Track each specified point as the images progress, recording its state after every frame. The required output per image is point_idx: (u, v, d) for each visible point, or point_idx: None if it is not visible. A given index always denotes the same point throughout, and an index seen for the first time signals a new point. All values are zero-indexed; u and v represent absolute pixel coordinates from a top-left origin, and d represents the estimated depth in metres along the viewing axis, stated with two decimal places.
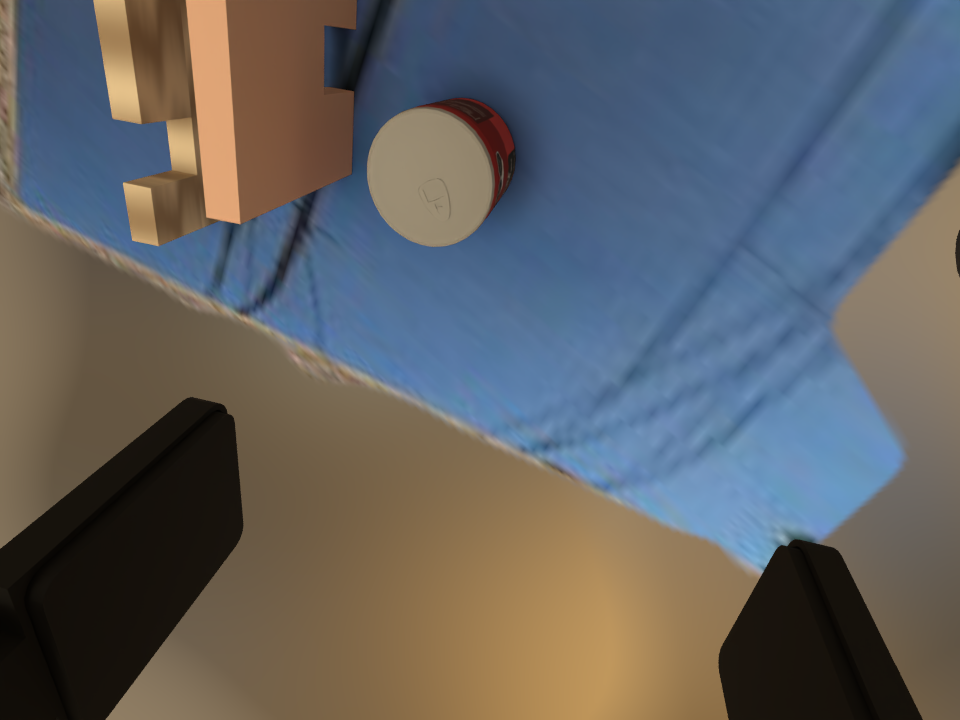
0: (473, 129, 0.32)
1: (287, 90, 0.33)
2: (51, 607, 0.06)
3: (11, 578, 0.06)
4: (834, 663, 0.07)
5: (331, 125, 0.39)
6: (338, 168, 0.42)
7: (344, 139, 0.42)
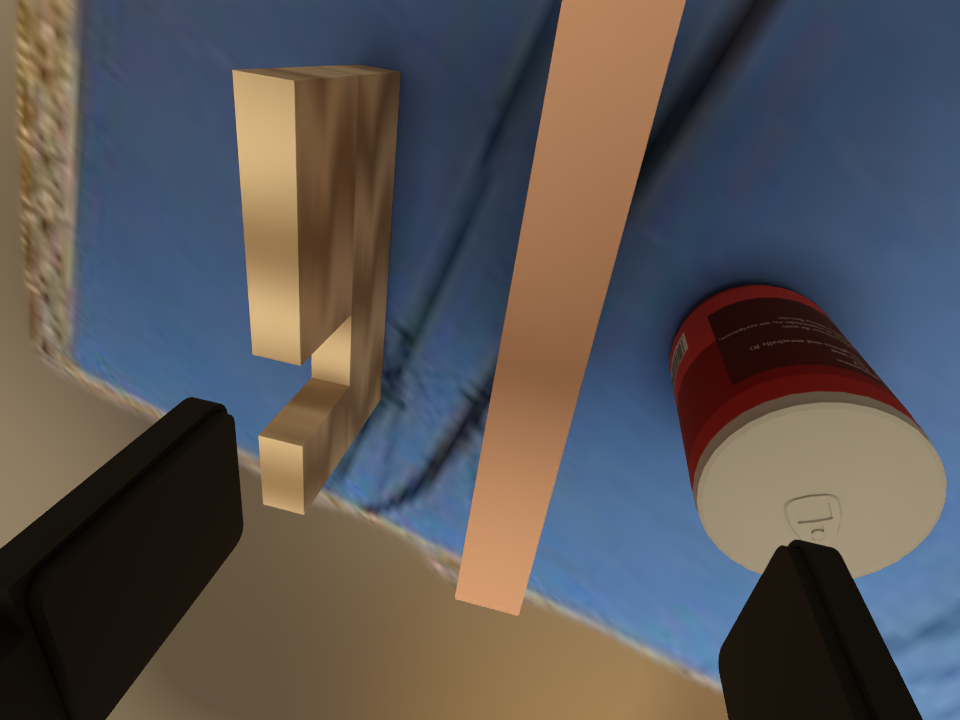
0: (922, 431, 0.18)
1: None
2: (51, 607, 0.06)
3: (11, 578, 0.06)
4: (834, 663, 0.07)
5: None
6: None
7: None
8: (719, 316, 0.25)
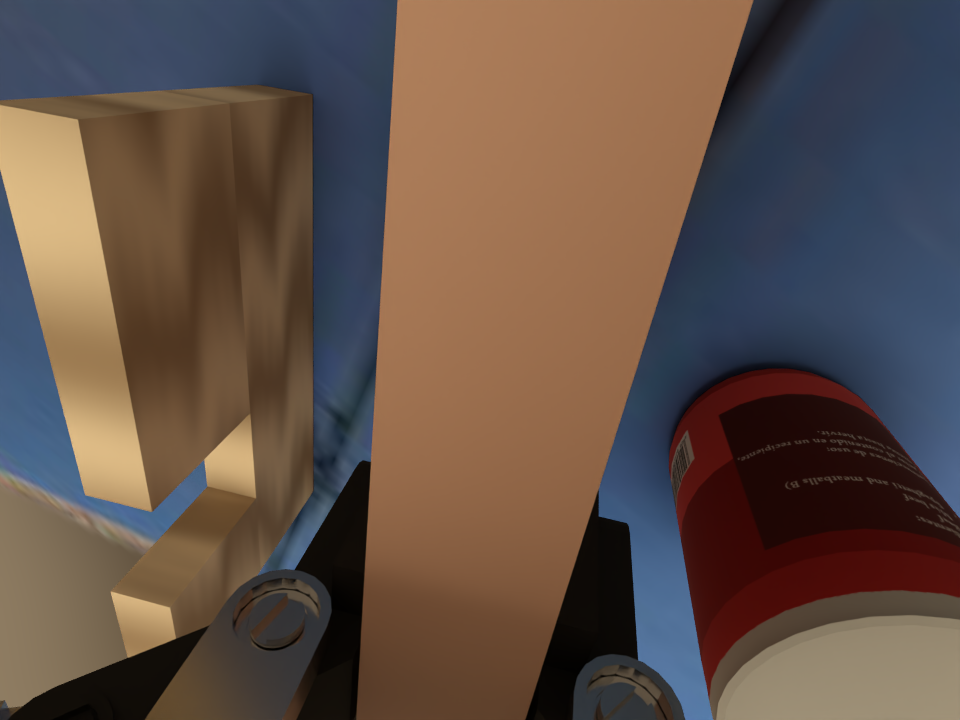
0: None
1: None
2: None
3: None
4: None
5: None
6: None
7: None
8: (736, 419, 0.19)
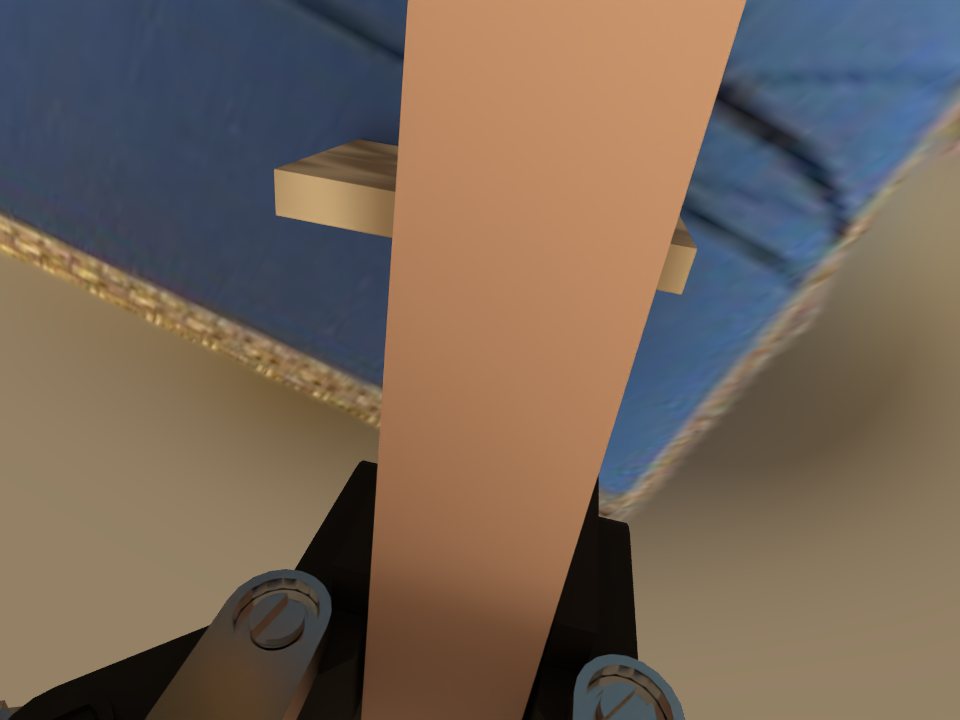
0: None
1: None
2: None
3: (369, 565, 0.07)
4: None
5: None
6: None
7: None
8: None
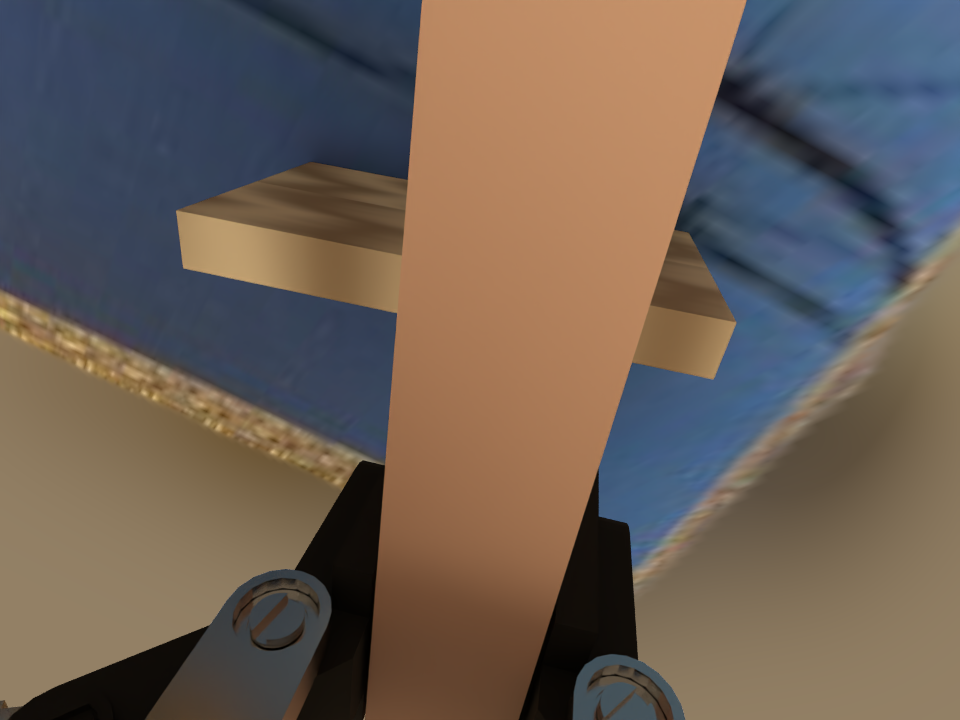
0: None
1: None
2: None
3: (369, 565, 0.07)
4: None
5: None
6: None
7: None
8: None
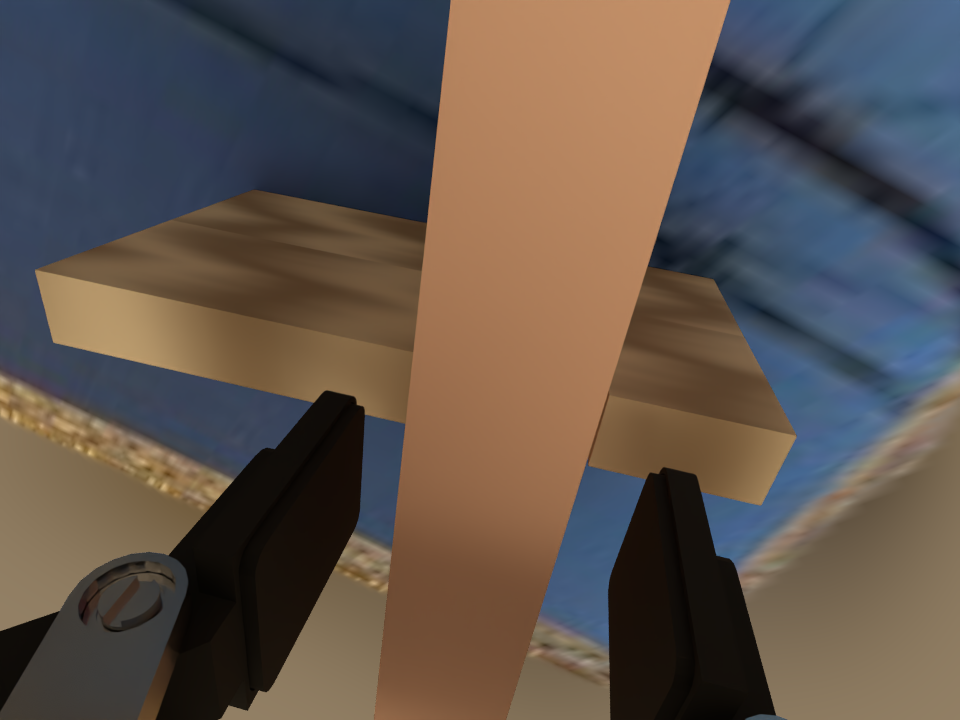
0: None
1: None
2: (258, 575, 0.07)
3: (231, 548, 0.07)
4: (665, 558, 0.08)
5: None
6: None
7: None
8: None
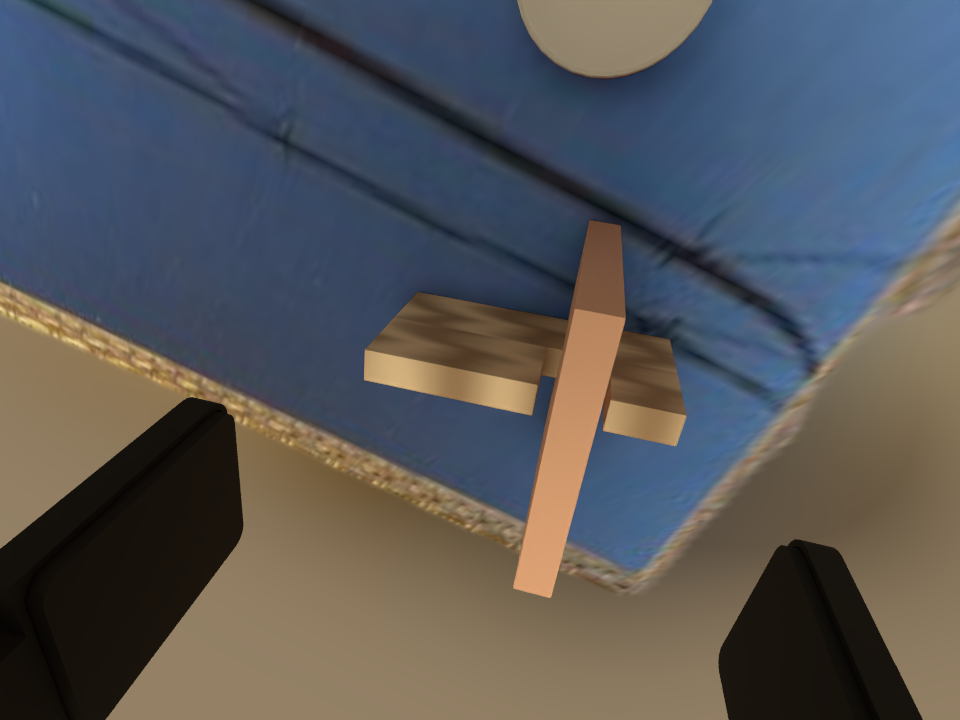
0: None
1: None
2: (51, 607, 0.06)
3: (11, 578, 0.06)
4: (833, 663, 0.07)
5: None
6: None
7: None
8: None
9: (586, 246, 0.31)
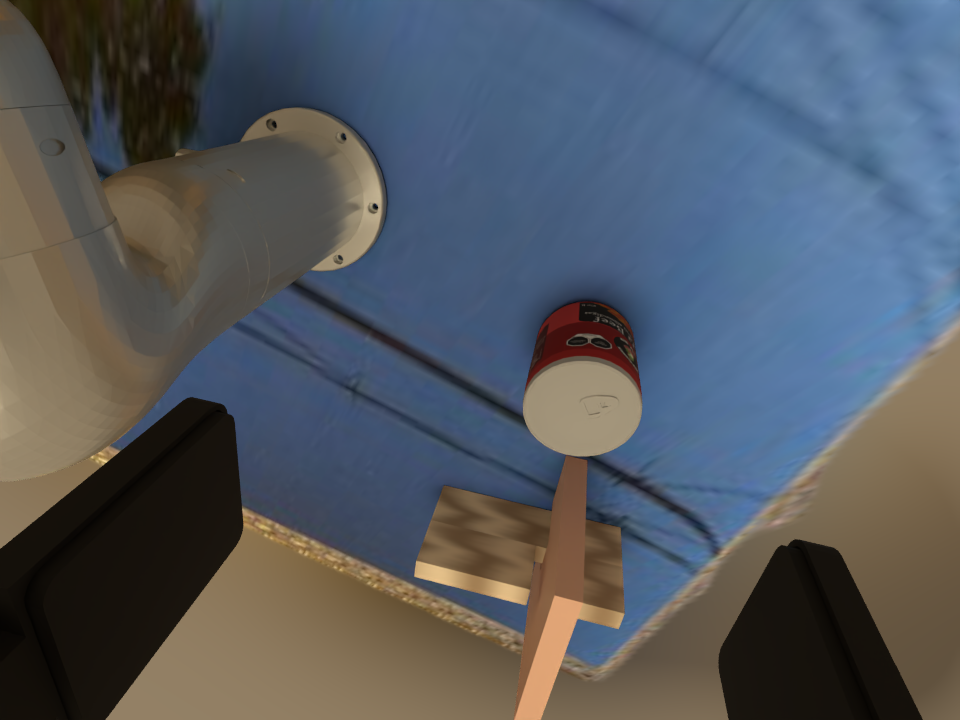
0: (541, 369, 0.38)
1: None
2: (51, 607, 0.06)
3: (11, 578, 0.06)
4: (834, 663, 0.07)
5: None
6: None
7: None
8: None
9: (563, 502, 0.47)
